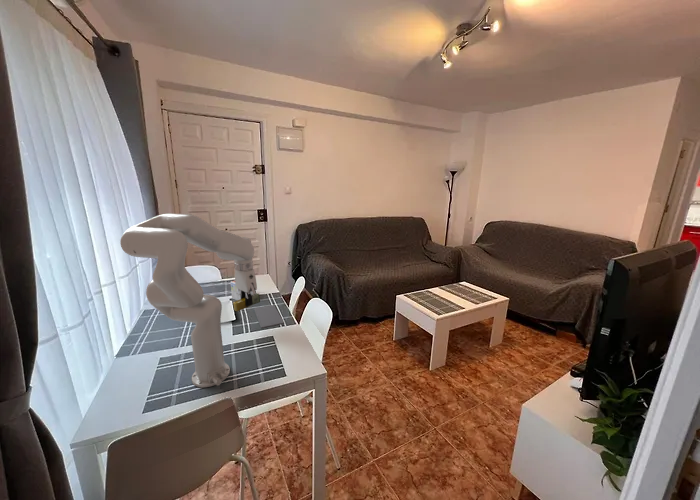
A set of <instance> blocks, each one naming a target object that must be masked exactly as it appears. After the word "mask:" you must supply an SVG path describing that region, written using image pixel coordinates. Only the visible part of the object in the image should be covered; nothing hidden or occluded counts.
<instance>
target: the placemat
mask: <svg viewBox="0 0 700 500" xmlns="http://www.w3.org/2000/svg"><path fill="white" fill-rule="evenodd" d="M253 311H254V314H255V315H256V318H257V321H258V324H259V327H260V329H264V328H271V327H273V326H279V324H280V325H283V324H284V320H283V319H282V317H281V315H280V312H279V311H278V309H277V307H276V306H275V304H271V305H266V306H265V305H264V306H260V307H254V308H253Z"/></svg>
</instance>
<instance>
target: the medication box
mask: <svg viewBox="0 0 700 500" xmlns="http://www.w3.org/2000/svg"><path fill="white" fill-rule="evenodd" d="M255 293H256V294H255V295H253V297H252V302H253V304H252V305H250V306H248V307H246V303H245V298H246V297H245V298H242V299H240V300H235V301H233V302H232V303H233V310H234V311H235V312H239V311H242V310H245V309H247V308H249V307H251V306H254V305H257V304H259V303H261V300H260V294H259V293H257V292H255Z"/></svg>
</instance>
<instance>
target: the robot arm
mask: <svg viewBox="0 0 700 500" xmlns="http://www.w3.org/2000/svg"><path fill="white" fill-rule="evenodd" d="M119 241H120V242H119V243H120V247H121V249H122V250H123V251H124V253H125V254H126V255H128V256H132V257H136V258H142V259H143V258H145V259H146V258H147V259H157V261H156V265H155V268H154V270H153V273H152V280H151V281H150V282H149V283H148V285H147V287H146V291H145V294H146V298H147V302H149V304H150V305H151V306H153V307H154V308H155V309H156V310H157V311H159V312H160V313H161V314H163V316H165V317H166V318H168V319H170V320H172V321H177V322H184V323H193V324H195V326H194V328H193V329H192V331H191V333H190V342H191V346H192V355H193V360H194V361H193V362H194V369H195V371H194V372H193V374H192V375H191V383H192V384H193V385H194V386H195V387H197V388H211V387H213V386H221V384H222V382H223V381H225V380H226V379H227V378H228V376H229V375H230V372H231V368H230V365H229V364H228V363H226V362H225V356H224V354H225V353H224V345H223V337H222V325H221V322H222V321H221V318H222V308H223V307H222V306H223V305H222V302H221V300H220V298H218V297H217V296H214V295H209V294H204V289H203V288H202V286H201V284H200V283H199V281H197V280H196V279H195V278H194V277H193V276H192V274H190V272H189V271H188V270H187V268H186V257H187V253H188V246H189V245H188V243H189V244H191V245H193V246H196V247H198V248H200V249H203V250H205V251H207V252H211V253H216V256H217V257H218V258H219V259H221V260H226V261H227V260H228V261H233V263H234V281H235V285H236V288H237V289H238V290H239V292H240V296H241V299H242V298H245V297H246V298H245V303H246V307H247V308H249V307H251V306H250V305H252V304H253V302H252V297H253V295H255V294H256V293H257V292H256V291H257V289H258V286H257V278H256V271H255V269H254V264H253V258H254V256H255V248H254V247H255V246H254V245H253V244H252V240H251V238H249V237H246V236H244V237H243V236H239V235H237V234H233V233H230V232H227V231H225V230H222V229H219V228H217V227H215V226H214V225H212V224H210V223H209V222H207V221H205V220H204V219H202V218H201V217H199V216H197V215H194V214H189V213H171V212H170V213H163V214H160V215H156V216H154V217H151V218H149V219H146V220H144V221H142V222H140V223H138V224H135V225H132V226H130V227H129V228H127V229H126V230H125V231H124V233H123V234H122V235H121V238H120V240H119ZM249 292H250V293H249ZM248 293H249V294H248ZM248 306H249V307H248ZM252 306H253V305H252Z"/></svg>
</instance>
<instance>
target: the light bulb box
mask: <svg viewBox="0 0 700 500" xmlns="http://www.w3.org/2000/svg"><path fill="white" fill-rule="evenodd" d="M230 290H231V291H230V293H231V298H232V299H233V300H235V301H237V300H240V299H241V296H240V292H239V290H238V289H237V288H236V285H235V280H231V281H230ZM249 293H250V292H249ZM249 293H248V294H249Z"/></svg>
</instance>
